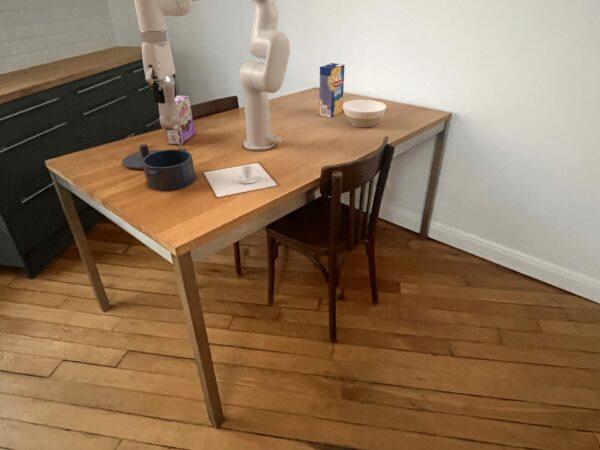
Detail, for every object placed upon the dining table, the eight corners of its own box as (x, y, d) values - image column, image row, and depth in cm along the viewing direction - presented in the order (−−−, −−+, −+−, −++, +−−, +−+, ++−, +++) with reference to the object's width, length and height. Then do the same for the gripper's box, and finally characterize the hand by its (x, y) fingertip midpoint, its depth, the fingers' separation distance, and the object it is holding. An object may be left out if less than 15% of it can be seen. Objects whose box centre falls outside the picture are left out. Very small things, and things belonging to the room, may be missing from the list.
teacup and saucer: (237, 186, 132) (236, 175, 130) (231, 177, 138) (229, 166, 136) (263, 181, 135) (262, 170, 132) (255, 172, 141) (254, 161, 139)
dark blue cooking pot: (206, 169, 143) (202, 148, 139) (177, 197, 126) (173, 173, 122) (166, 165, 147) (161, 144, 142) (133, 192, 129) (127, 169, 125)
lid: (177, 154, 156) (175, 139, 152) (155, 172, 142) (151, 155, 139) (139, 151, 159) (135, 136, 156) (113, 168, 145) (109, 152, 142)
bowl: (365, 134, 173) (366, 114, 168) (332, 123, 185) (333, 105, 181) (393, 124, 183) (395, 105, 179) (361, 114, 196) (362, 97, 191)
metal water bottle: (186, 127, 133) (175, 62, 123) (174, 133, 128) (162, 67, 117) (169, 125, 135) (157, 61, 125) (156, 131, 130) (143, 65, 119)
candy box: (181, 145, 164) (174, 104, 155) (168, 144, 165) (160, 103, 156) (195, 133, 175) (189, 95, 166) (182, 133, 176) (176, 94, 167)
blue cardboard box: (342, 111, 200) (344, 64, 189) (331, 117, 193) (332, 68, 181) (330, 109, 204) (331, 63, 192) (319, 114, 196) (319, 67, 184)
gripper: (158, 33, 125) (169, 92, 134) (125, 41, 111) (140, 107, 120) (181, 33, 123) (189, 93, 133) (150, 41, 109) (162, 108, 119)
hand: (166, 99), depth 127 cm, fingers closed on metal water bottle, 6 cm apart
